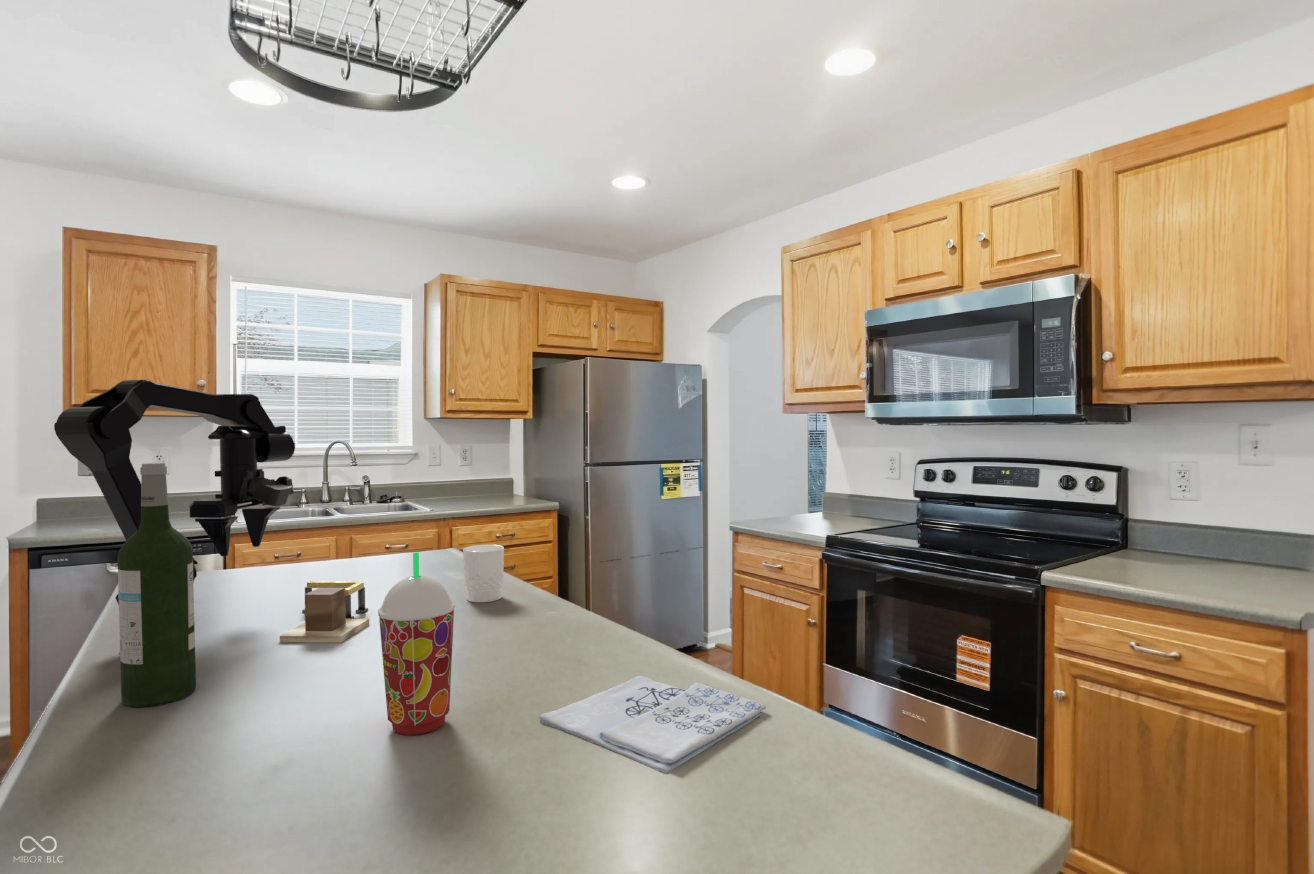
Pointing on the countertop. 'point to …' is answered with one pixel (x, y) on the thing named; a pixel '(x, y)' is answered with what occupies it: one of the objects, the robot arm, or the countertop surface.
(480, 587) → the white cup
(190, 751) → the countertop surface
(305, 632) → the birch pad
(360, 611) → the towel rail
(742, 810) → the countertop surface
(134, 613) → the wine bottle
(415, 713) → the smoothie
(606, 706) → the folded bicycle towel
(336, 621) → the walnut block
